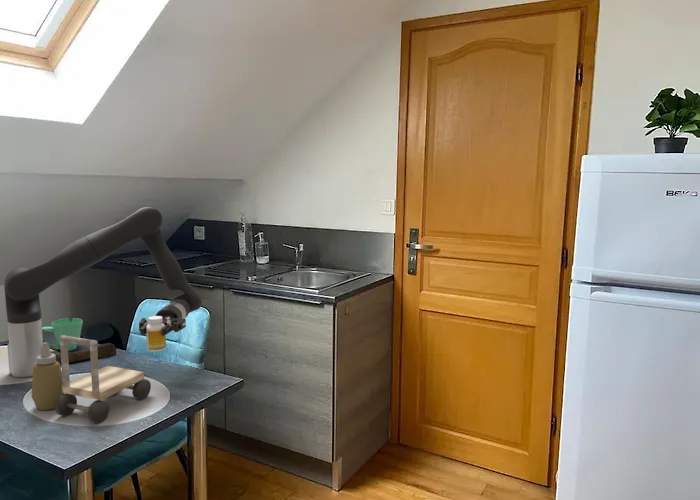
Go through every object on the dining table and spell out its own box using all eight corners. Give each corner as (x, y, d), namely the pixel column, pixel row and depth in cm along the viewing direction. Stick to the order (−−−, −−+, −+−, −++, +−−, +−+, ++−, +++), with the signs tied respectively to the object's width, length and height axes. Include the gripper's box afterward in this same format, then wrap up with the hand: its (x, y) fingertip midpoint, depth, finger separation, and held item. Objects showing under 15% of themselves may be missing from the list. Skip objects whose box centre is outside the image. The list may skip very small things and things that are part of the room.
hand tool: (57, 367, 183) (56, 354, 183) (55, 364, 186) (54, 350, 186) (118, 357, 194) (117, 344, 194) (115, 353, 198) (114, 341, 197)
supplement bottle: (169, 349, 167) (168, 317, 166) (151, 353, 163) (150, 321, 162) (161, 345, 171) (159, 314, 169) (143, 348, 167) (142, 317, 166)
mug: (77, 342, 208) (76, 316, 206) (88, 348, 201) (87, 321, 200) (34, 351, 197) (32, 324, 196) (44, 358, 191) (42, 330, 189)
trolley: (55, 418, 147) (49, 337, 144) (116, 388, 167) (112, 317, 164) (93, 427, 142) (89, 344, 139) (151, 395, 162) (148, 322, 159)
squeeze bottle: (42, 415, 148) (38, 349, 146) (26, 408, 153) (21, 344, 150) (71, 404, 155) (68, 341, 152) (55, 397, 159) (51, 336, 157)
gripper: (148, 304, 180) (127, 319, 163) (193, 305, 180) (177, 320, 163) (149, 327, 181) (128, 344, 164) (193, 328, 181) (177, 345, 164)
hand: (152, 332), depth 164 cm, fingers closed on supplement bottle, 5 cm apart
